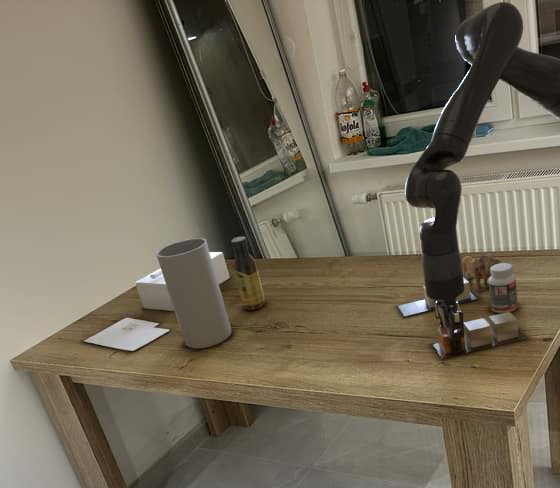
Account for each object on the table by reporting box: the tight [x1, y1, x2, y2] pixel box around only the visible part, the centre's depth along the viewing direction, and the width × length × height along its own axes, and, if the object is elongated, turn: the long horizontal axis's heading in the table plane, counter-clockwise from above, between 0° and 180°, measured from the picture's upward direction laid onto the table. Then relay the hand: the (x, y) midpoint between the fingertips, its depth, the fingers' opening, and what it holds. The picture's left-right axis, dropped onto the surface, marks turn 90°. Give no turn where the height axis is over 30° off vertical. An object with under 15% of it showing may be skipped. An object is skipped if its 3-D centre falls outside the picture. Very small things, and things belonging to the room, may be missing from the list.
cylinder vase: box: [156, 237, 232, 350], centre depth 171 cm, size 12×12×25 cm
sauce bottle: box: [230, 236, 266, 311], centre depth 185 cm, size 7×6×20 cm
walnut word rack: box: [432, 312, 527, 360], centre depth 141 cm, size 18×7×4 cm, turn 94°
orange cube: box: [436, 327, 466, 354], centre depth 141 cm, size 4×4×4 cm
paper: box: [83, 317, 170, 352], centre depth 192 cm, size 25×17×1 cm
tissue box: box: [134, 251, 231, 312], centre depth 211 cm, size 14×25×11 cm, turn 142°
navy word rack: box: [397, 277, 478, 318], centre depth 163 cm, size 18×7×4 cm, turn 94°
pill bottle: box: [488, 262, 518, 314], centre depth 151 cm, size 6×6×10 cm
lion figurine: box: [461, 253, 502, 292], centre depth 166 cm, size 15×5×9 cm, turn 26°
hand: (452, 346), depth 142 cm, fingers open, 5 cm apart
